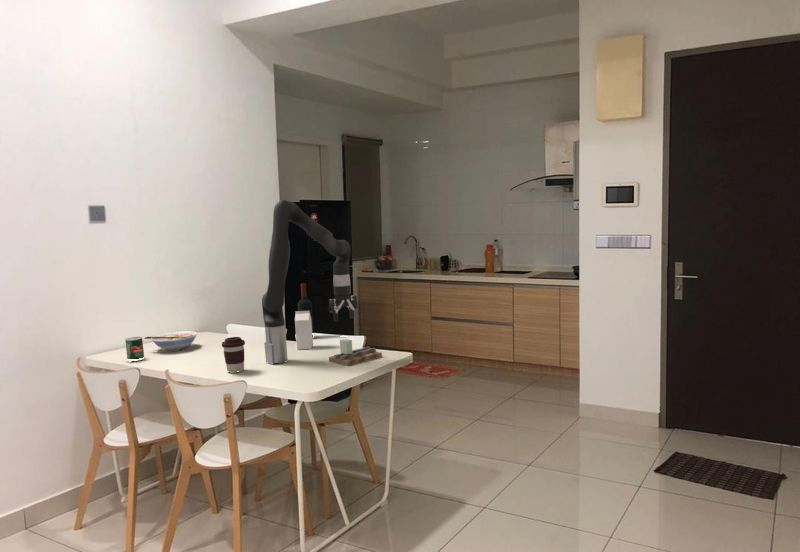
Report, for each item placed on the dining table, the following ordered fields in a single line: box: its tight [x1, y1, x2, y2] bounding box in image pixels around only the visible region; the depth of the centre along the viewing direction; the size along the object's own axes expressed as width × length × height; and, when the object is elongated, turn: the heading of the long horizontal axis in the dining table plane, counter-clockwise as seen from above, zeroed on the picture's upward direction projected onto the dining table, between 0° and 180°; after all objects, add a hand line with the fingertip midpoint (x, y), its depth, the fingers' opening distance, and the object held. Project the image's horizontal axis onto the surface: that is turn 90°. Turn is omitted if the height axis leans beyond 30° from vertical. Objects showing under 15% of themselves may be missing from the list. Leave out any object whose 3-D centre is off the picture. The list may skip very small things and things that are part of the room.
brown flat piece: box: [328, 346, 383, 367], centre depth 292 cm, size 20×14×4 cm
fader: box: [339, 338, 353, 355], centre depth 288 cm, size 3×5×8 cm, turn 42°
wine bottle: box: [297, 283, 315, 334], centre depth 343 cm, size 8×8×30 cm
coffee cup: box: [221, 336, 246, 372], centre depth 282 cm, size 10×10×15 cm
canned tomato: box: [124, 336, 145, 360], centre depth 315 cm, size 8×8×11 cm
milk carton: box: [294, 310, 314, 351], centre depth 320 cm, size 7×7×19 cm
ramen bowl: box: [144, 330, 198, 351], centre depth 335 cm, size 25×23×8 cm
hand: (344, 319), depth 286 cm, fingers open, 8 cm apart
